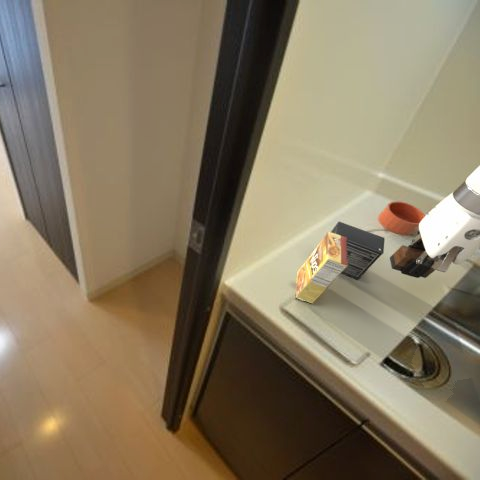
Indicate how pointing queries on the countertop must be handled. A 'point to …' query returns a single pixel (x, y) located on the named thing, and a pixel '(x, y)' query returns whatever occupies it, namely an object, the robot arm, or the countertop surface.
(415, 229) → the bowl
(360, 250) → the small box
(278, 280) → the countertop surface
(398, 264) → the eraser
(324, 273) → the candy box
